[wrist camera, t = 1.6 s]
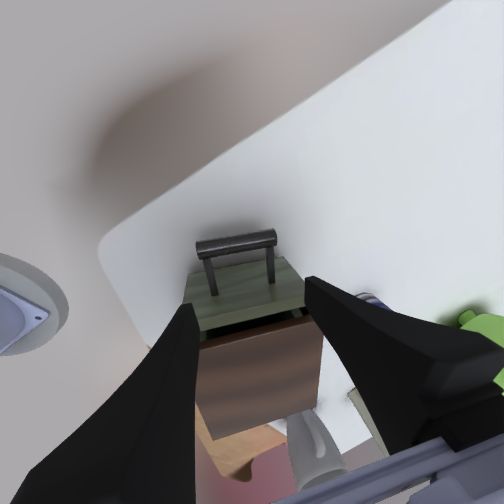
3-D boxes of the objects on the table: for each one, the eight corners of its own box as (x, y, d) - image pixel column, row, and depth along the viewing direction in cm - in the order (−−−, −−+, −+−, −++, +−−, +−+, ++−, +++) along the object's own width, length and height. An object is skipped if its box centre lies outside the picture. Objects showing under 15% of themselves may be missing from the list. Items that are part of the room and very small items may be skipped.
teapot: (381, 361, 37) (487, 482, 23) (474, 285, 32) (677, 376, 18) (425, 387, 47) (516, 480, 33) (500, 332, 43) (642, 413, 29)
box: (372, 388, 41) (423, 458, 31) (356, 399, 42) (402, 470, 32) (361, 382, 39) (413, 455, 29) (346, 393, 39) (391, 469, 30)
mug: (315, 416, 41) (344, 482, 32) (278, 428, 39) (297, 500, 31) (320, 384, 36) (356, 453, 27) (277, 397, 34) (300, 474, 26)
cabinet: (187, 286, 20) (174, 356, 13) (285, 266, 22) (325, 318, 14) (211, 362, 26) (212, 441, 19) (287, 341, 28) (316, 407, 20)
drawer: (173, 229, 17) (154, 264, 11) (281, 212, 18) (317, 234, 12) (211, 352, 24) (212, 413, 18) (285, 333, 26) (308, 384, 20)
